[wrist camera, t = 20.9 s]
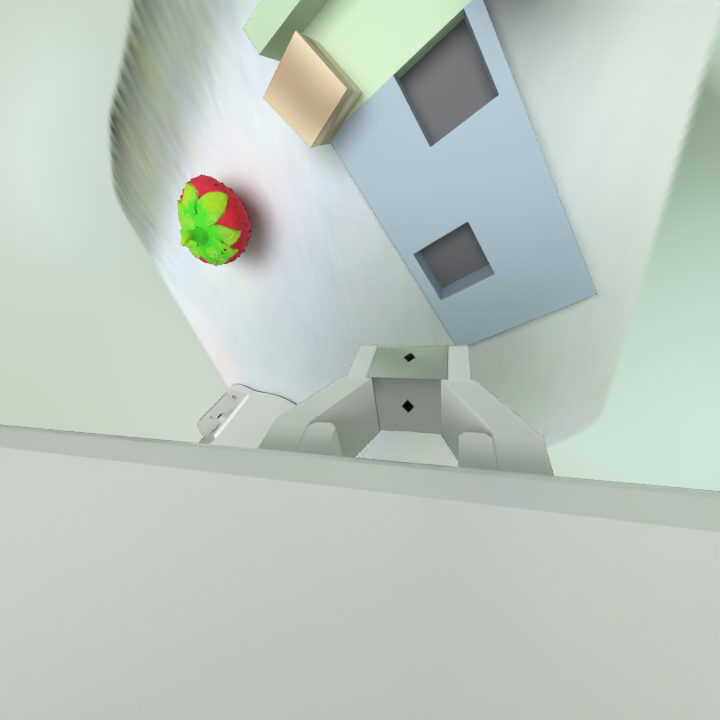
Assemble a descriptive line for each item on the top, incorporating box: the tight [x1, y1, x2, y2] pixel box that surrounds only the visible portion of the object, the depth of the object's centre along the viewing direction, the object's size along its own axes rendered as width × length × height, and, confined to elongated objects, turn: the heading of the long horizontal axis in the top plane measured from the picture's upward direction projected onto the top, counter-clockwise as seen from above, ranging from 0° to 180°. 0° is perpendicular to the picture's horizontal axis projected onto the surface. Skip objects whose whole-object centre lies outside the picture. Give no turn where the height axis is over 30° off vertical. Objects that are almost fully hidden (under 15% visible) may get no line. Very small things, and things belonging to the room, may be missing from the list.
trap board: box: [242, 0, 597, 346], centre depth 25 cm, size 12×28×6 cm, turn 36°
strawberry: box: [177, 174, 252, 266], centre depth 29 cm, size 6×7×10 cm
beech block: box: [263, 30, 363, 147], centre depth 22 cm, size 4×4×4 cm
